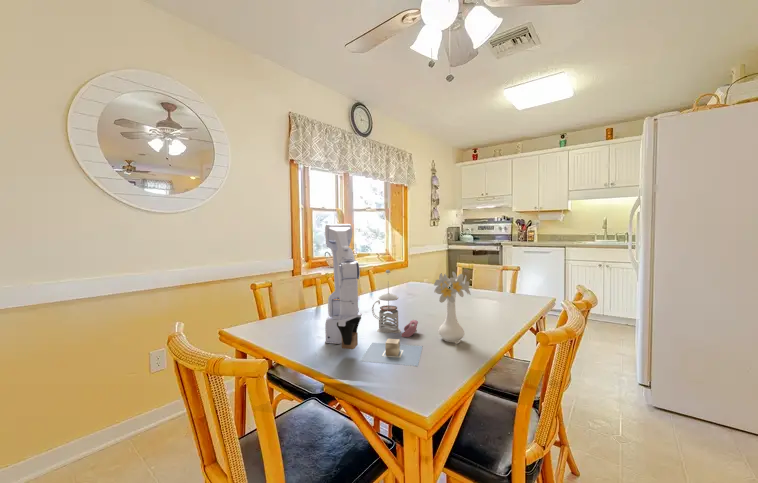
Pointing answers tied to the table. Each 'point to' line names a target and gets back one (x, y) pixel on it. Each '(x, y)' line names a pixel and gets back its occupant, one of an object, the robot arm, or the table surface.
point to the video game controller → (410, 328)
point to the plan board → (405, 357)
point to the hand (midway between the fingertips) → (349, 341)
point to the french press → (387, 314)
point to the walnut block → (352, 342)
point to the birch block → (392, 347)
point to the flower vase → (451, 305)
